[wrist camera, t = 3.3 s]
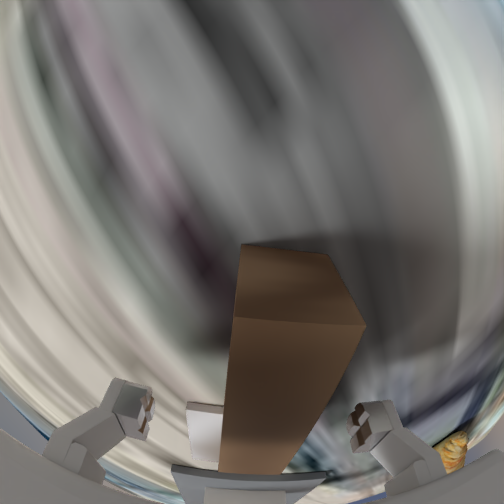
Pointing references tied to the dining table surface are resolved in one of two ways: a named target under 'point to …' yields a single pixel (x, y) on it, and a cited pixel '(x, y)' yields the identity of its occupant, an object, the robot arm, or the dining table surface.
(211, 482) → the slate board
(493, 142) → the dining table surface
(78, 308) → the dining table surface
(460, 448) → the croissant
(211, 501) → the tile
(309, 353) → the wooden handled scraper
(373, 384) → the dining table surface
